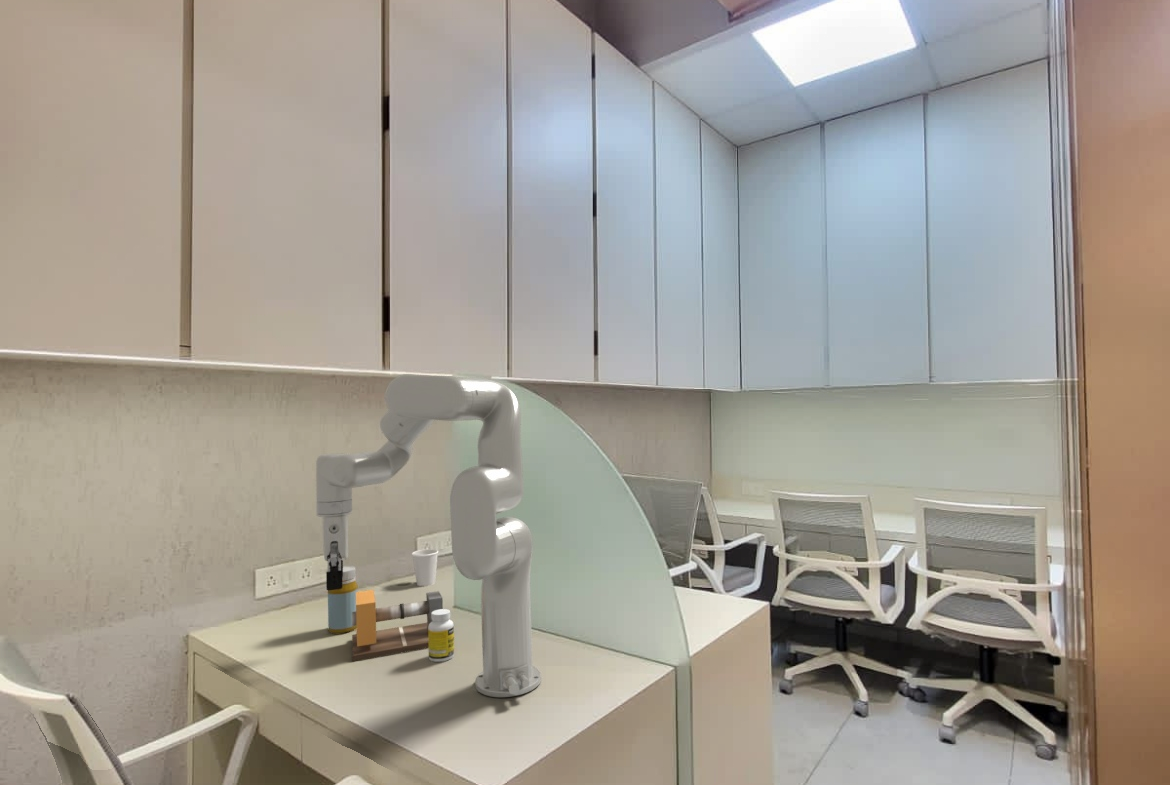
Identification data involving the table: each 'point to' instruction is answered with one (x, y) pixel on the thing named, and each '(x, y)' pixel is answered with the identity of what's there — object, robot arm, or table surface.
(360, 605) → the collar
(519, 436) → the robot arm
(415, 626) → the pipe stand
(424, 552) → the dixie cup
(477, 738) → the table surface
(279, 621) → the table surface
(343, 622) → the bottle
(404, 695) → the table surface
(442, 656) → the supplement bottle
